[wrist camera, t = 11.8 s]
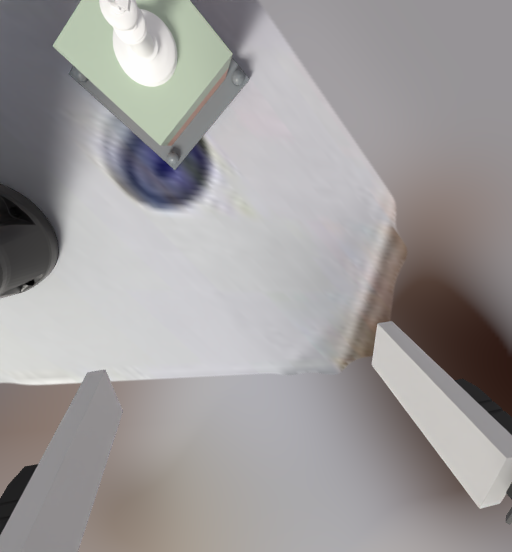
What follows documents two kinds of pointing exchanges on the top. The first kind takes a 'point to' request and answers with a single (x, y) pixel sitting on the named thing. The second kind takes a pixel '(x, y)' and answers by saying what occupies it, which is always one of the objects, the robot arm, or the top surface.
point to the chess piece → (141, 42)
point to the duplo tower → (167, 97)
